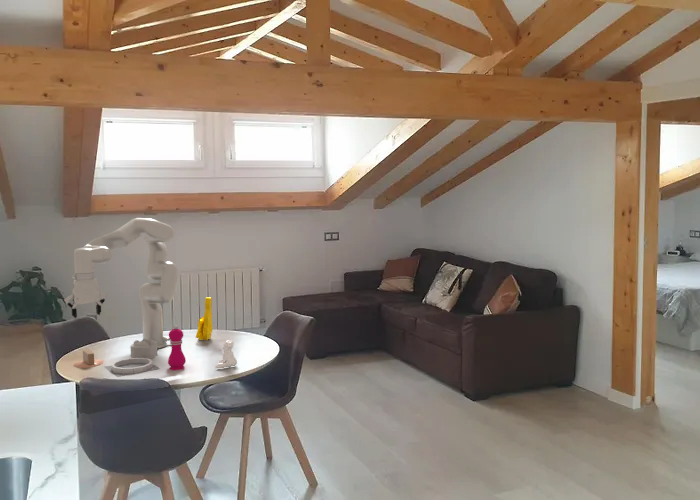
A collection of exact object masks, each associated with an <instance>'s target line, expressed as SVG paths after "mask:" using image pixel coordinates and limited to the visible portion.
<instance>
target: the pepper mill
mask: <svg viewBox="0 0 700 500" xmlns="http://www.w3.org/2000/svg"><path fill="white" fill-rule="evenodd" d="M168 337H169V338H170V339H171V340H170V341H169V342H170V343H169V344H170V346H171V350H170V354H169V356H168V360H167V364H168V366H169V370H171V371H181V370H184V369H185V368H186V367H185V363H186V360H187V359H186V356H185V355H184V352H183V349H182V344H183V338H184V331H183V330H182V329H180V328H179V326H178V325H177V324H175V325H174V326H173V329H171V330H170V331H169V332H168Z"/></svg>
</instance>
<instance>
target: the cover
mask: <svg viewBox="0 0 700 500" xmlns="http://www.w3.org/2000/svg"><path fill="white" fill-rule="evenodd" d="M102 364H103V365H104V360H102V359H98V358H97V359H96V358H95V353H94V352H93V351H91V350H90V349H84V350H82V360H79V361H76V362H74V363H73V366H74V367H75V368H81V369H84V368H85V369H86V368H93V367H94V368H95V367H99V366H101V365H102Z"/></svg>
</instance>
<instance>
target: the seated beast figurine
mask: <svg viewBox="0 0 700 500" xmlns="http://www.w3.org/2000/svg"><path fill="white" fill-rule="evenodd" d="M234 343H235V341H234V340H229V339H227V340H225V343H224V344H223V347H222V349H223V354H222V359H221V360H219V362H218V364H215V369H216V368H224V367H231V366H235V365H236V366H237V364H238V361H237V358H236V357H235V355H234V351H233V348H234ZM236 366H235V367H236Z"/></svg>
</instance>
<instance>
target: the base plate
mask: <svg viewBox="0 0 700 500" xmlns="http://www.w3.org/2000/svg"><path fill="white" fill-rule="evenodd" d="M104 369H106V370H108V371H109V372H110V373H112V374H113V375H115V377H117V378H119V377H125V376H129V375H131V376H132V375H135V374H141V373H145V372H146V373H147V372H152V371H156V370H161V368H160V367H158V365H155V364H154V360H153V359H147V358H131V357H129V358H123V359H119V360H116V361H114V362H112V363H111V364H110V365H107V366H104Z"/></svg>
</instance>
